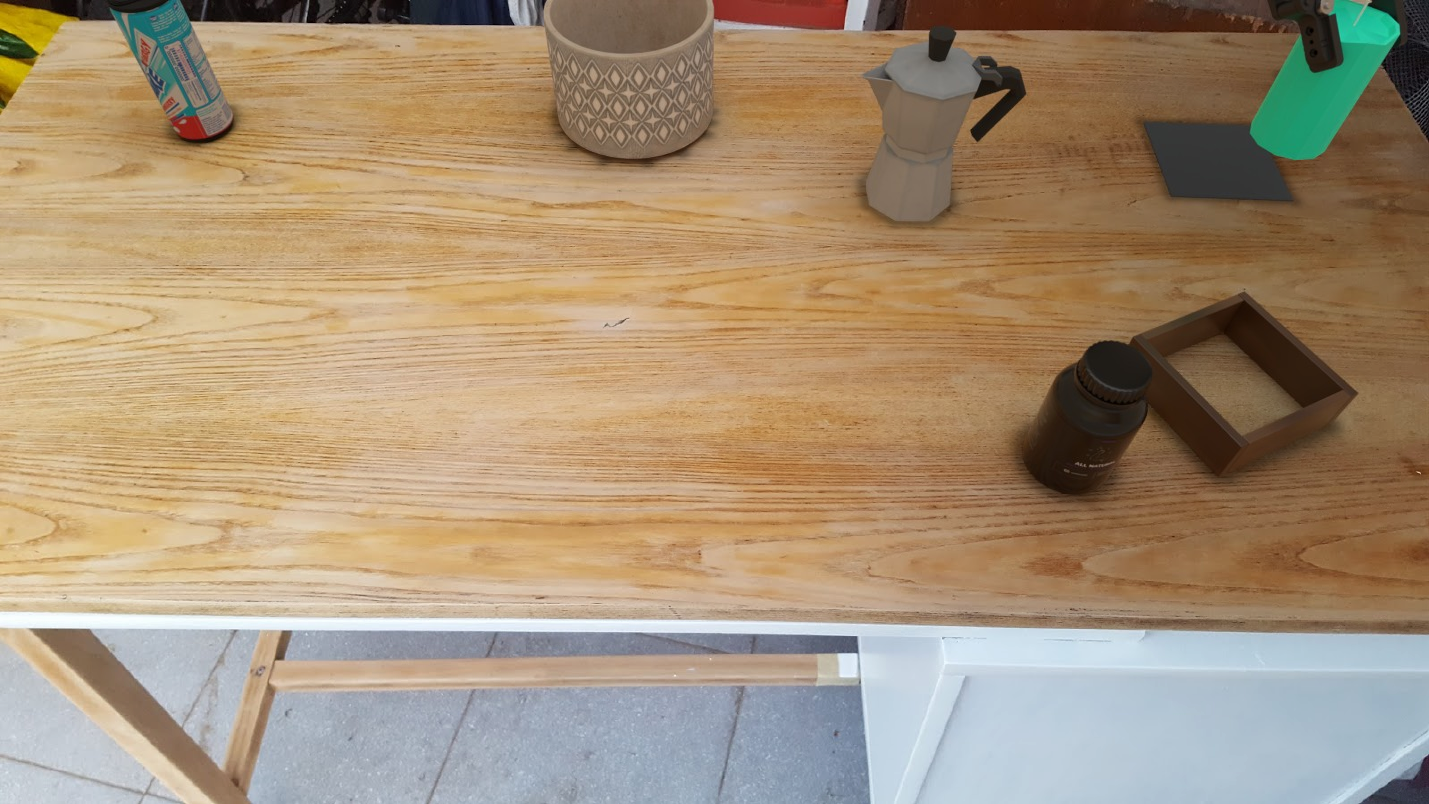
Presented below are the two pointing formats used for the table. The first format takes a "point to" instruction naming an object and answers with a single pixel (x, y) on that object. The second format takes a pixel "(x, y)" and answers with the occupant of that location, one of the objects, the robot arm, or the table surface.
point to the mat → (1215, 162)
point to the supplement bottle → (1089, 418)
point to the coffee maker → (929, 121)
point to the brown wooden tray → (1271, 352)
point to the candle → (1323, 85)
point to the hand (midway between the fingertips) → (1359, 57)
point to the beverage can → (175, 66)
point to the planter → (632, 73)
